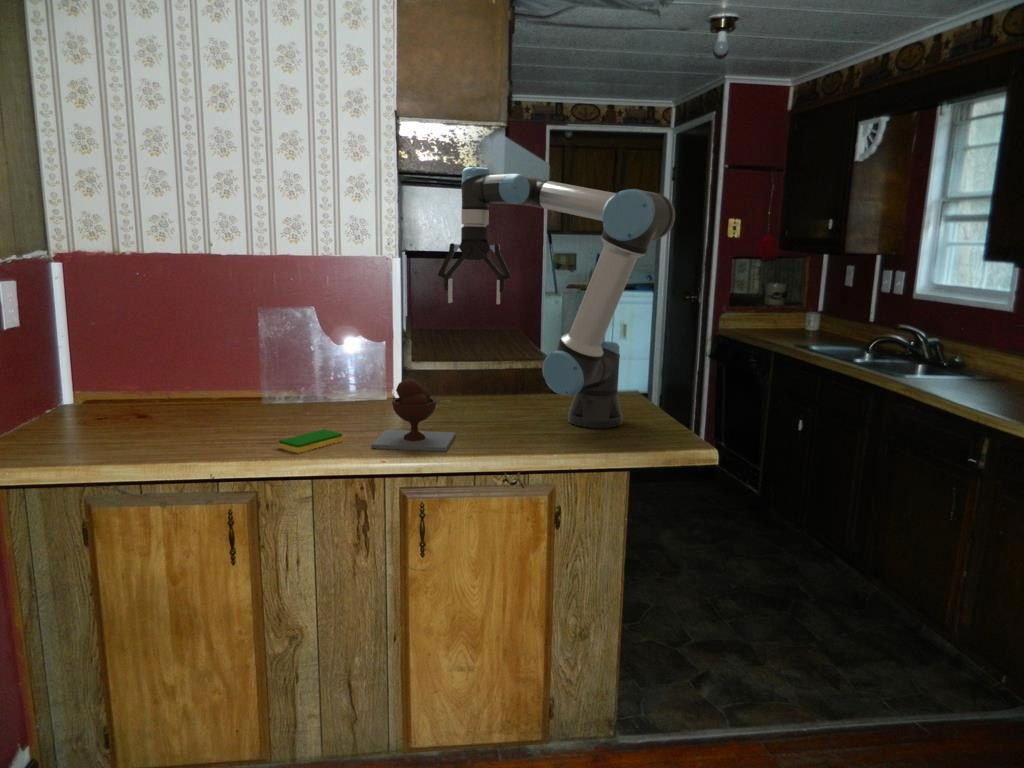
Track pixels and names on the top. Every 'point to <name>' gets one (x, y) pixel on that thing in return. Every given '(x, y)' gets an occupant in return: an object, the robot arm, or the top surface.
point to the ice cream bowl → (413, 406)
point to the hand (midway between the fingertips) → (474, 303)
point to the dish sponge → (310, 440)
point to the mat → (430, 443)
